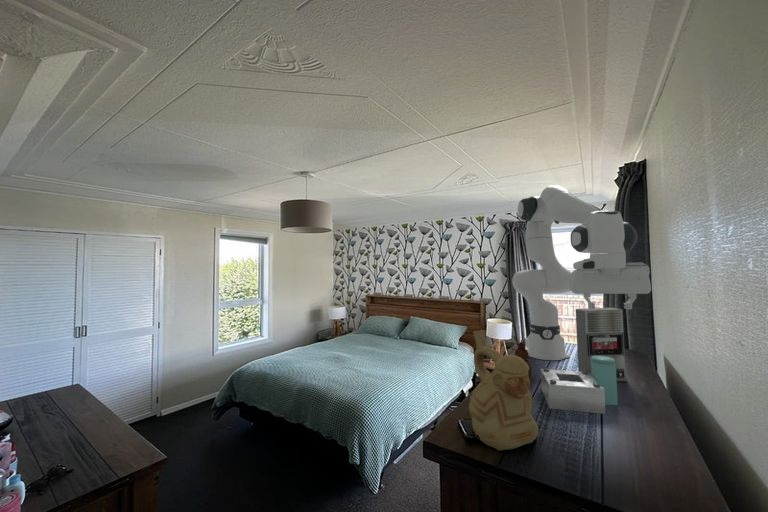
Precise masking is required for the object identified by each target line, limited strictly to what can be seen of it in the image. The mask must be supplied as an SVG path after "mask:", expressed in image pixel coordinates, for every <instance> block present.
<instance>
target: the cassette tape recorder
mask: <svg viewBox="0 0 768 512" xmlns="http://www.w3.org/2000/svg"><path fill="white" fill-rule="evenodd" d="M575 326H576V348H577V349H576V350H577V368H578V369H577V371H582V370H585V371H588V372H589V373H590V374H591V357H592V356H605V357H610V358H613V359H614V360H615V364H616V379H617V382H627V381H629V379H628V377H627V373H626V356H625V355H626V353H625V352H626V351H625V335H624V334H625V333H624V330H625V329H624V311H623V309H621V308H616V307H595V309H589V308H588V307H586V308H575Z"/></svg>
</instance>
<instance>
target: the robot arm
mask: <svg viewBox="0 0 768 512" xmlns="http://www.w3.org/2000/svg"><path fill="white" fill-rule="evenodd" d="M540 193H541V194H540V196H533V195H532V196H528V197H524V198H522V199H520V201H519V202H518V205H517V215H518V218H519V219H520V220H521V221H524V222H527V223H526V227H525V243H526V244H525V245H526V255H527V257H528V258H529V260H531V261H532V262H534V263H537V264H538V265H539V266H540V267H541V268H542V269H524V270H520V271H517V272H515V273H514V274H513V276H512V279H511V282H512V286H513V289H514V290H515V291H516V292H517V293H519V294H520V295H521V296H522V297H523V298H524V299H525V300H526V301H527V304H528V308H529V312H530V322H531V323H530V325H529V326H530V327H529V329H530V330H529V331H530V334H529V335H528V336H527V337H526V338H525V339H524V340H525V349H526V350H527V351H528V354H529V357H531V358H534V359H537V360H542V361H543V360H544V361H561V360H564V359H569V358H570V354H569V353H567V352H566V342H565V338H564V337H563V336H562V335H561V327H560V326H561V325H560V324H559V310H558V307H557V306H556V304H554V303H552V302H550V301H548V300H546V299H545V298H544V294H546V295H547V294H549V295H550V294H553V295H554V294H563V293H569V292H571V293H573V294H575V295H583V298H584V299H585V301H586V302H587V308H589V309H595V308H596V302H592V301H591V299H590V298H591V295H597V294H598V295H605V294H606V295H611V294H613V295H614V294H615V295H616V294H618V295H620V294H621V295H623V294H624V295H627V297H628V300H627V301H626V302H623V305H624V306H623V308H624V309H625V310H633V303H634V302H635V301H636V299H637V295H639V294H640V295H648V294H649V293H651V291H652V285H651V279H650V274H651V273H650V272H651V271H650V267H649V265H648V264H646V263H644V262H642V261H641V262H640V261H638V262H626V261H627V259H626V253H628V252H629V251H631V250H632V249H633V248H634V247H635V246H636V244H637V242H638V238H639V237H638V233H637V230H636V228H634V226H632V224H630V223H629V222H626V221H624V219H623V216H622V213H621V212H620V211H618V210H611V209H610V210H609V209H608V210H607V209H606V210H605V209H604V210H603V209H601V208H599V207H598V206H595V205H593V204H590V203H588V202H586V201H584V200H582V199H580V198H578V197H577V196H575V195H574V194H572V192H571V191H569V190H568V189H566V188H565V187H562V186H561V185H557V184H555V185H553V184H552V185H549V186H547V187H545V188H544V189H543V190H542V192H540ZM553 223H555V224H556V225H558V224H560V223H563V224H580V225H577V226H575V228H573V230H572V231H571V232H570V245H571V246H572V248H573V249H574V251H576V252H578V253H582V254H589V257H588V258H585V259H583V260H579V261H576V262H574V263H573V265H572V267H573V269H574V270H572V271H570V270H569V269H567V268H566V267H564V266H563V265H562V264H561V262H560V261H559V260H558V259H557V256H556V254H555V247H554V241H553V233H552V224H553Z"/></svg>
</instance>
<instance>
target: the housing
mask: <svg viewBox="0 0 768 512" xmlns="http://www.w3.org/2000/svg"><path fill="white" fill-rule="evenodd" d="M540 384H541V392H542V393H543V396H544V398H545V401H546V403H547V406H548V407H549V409H551V410H559V411H560V410H563V411H573V412H581V413H592V414H601V415H606V414H607V413H606V405H605V391H604V388H603V387H602V386H601V384H600V383H599V382H598V381H597V380H596V379H595V378H594V377H593V376H592V375H591V374H590V373H589V372H588V371H585V370H582V371H578V370H568V369H567V370H564V369H553V368H552V369H550V368H549V367H544V368H540Z"/></svg>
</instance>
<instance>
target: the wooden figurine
mask: <svg viewBox="0 0 768 512" xmlns="http://www.w3.org/2000/svg"><path fill="white" fill-rule="evenodd" d="M525 347H526V342H525V339H523V340H522V339H520V342H519V343H517V348H516V349H515V350H514V355H515V356H518V357H520V358H522V359H523V360H524V361H525V362H526V363H527V364H528V366H529V371H528V377H529V379H530V380H531V377H532V364H531V362H530V360H528V359H529V357H530V356H529V354H528V351H527V350H526V349H525Z"/></svg>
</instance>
